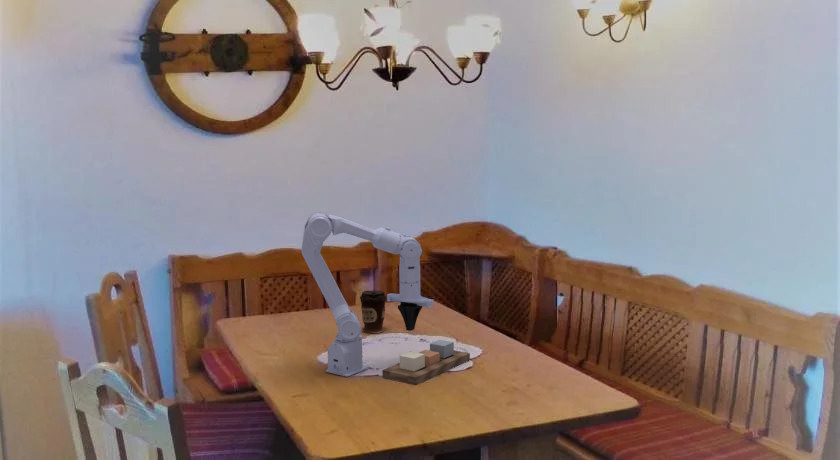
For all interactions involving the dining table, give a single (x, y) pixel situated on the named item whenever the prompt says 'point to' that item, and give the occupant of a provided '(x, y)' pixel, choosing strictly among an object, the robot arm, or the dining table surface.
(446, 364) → the board
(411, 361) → the cream block
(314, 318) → the dining table surface
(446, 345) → the button slate
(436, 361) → the salmon brown square block
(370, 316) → the coffee cup
